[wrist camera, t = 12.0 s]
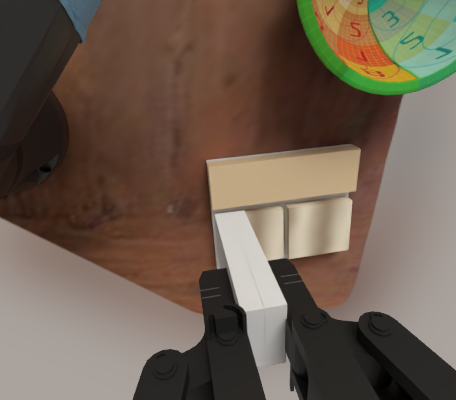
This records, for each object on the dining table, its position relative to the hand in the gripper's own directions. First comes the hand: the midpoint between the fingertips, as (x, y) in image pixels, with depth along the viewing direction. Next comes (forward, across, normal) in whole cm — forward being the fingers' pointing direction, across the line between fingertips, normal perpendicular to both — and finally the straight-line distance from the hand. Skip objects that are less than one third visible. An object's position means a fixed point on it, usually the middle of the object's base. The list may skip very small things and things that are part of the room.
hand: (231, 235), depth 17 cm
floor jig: (+26, +11, -13) cm, 32 cm away
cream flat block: (+25, +6, -16) cm, 31 cm away
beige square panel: (+25, +16, -16) cm, 34 cm away
